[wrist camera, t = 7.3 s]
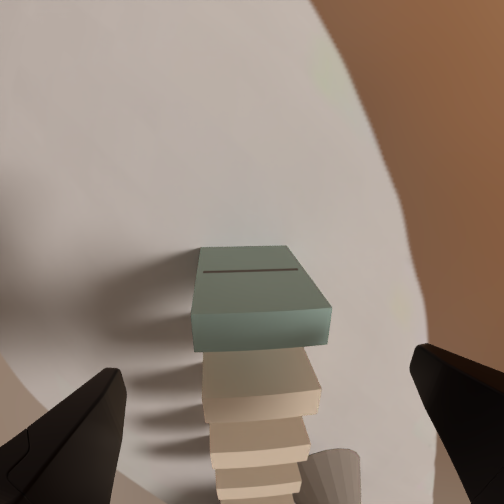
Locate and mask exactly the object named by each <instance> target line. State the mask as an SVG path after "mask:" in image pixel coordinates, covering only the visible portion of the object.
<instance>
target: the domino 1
mask: <svg viewBox="0 0 504 504" xmlns="http://www.w3.org/2000/svg"><path fill="white" fill-rule="evenodd" d="M331 313H332V307H331V305H330V304H329V302H328V301H327V300H326V298H325V297H324V296H323V294H322V293H321V291H320V290H319V289H318V287H317V286H316V285H315V283H314V282H313V281H312V279H311V278H310V277H309V275H308V274H307V272H306V271H305V270H304V268H303V267H302V266H301V264H300V263H299V262H298V260H297V259H296V258H295V256H294V255H293V254H292V252H291V251H290V250H289V248H288V247H287V246H244V247H201V249H200V255H199V261H198V268H197V274H196V281H195V288H194V294H193V301H192V309H191V323H192V334H193V345H194V352H227V351H250V350H267V349H282V348H294V347H306V346H316V345H326V344H327V342H328V335H329V328H330V321H331Z"/></svg>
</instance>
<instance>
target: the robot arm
mask: <svg viewBox="0 0 504 504" xmlns="http://www.w3.org/2000/svg"><path fill="white" fill-rule="evenodd" d="M410 373H411V376H412V378H413V380H414V383H415V385H416V388H417V390H418V392H419V395H420V397H421V400H422V402H423V405H424V407H425V409H426V411H427V413H428V415H429V417H430V419H431V421H432V423H433V425H434V427H435V428H436V430H437V432H438V434H439V436H440V438H441V440H442V442H443V444H444V446H445V448H446V450H447V452H448V454H449V456H450V458H451V461H452V463H453V465H454V467H455V469H456V471H457V473H458V475H459V478H460V480H461V482H462V484H463V486H464V489H465V491H466V493H467V495H468V498H469V500H470V502H471V504H504V373H503V372H500V371H498V370H495V369H493V368H490V367H487V366H484V365H482V364H480V363H477V362H475V361H472V360H469V359H467V358H464V357H462V356H459V355H457V354H454V353H451V352H449V351H446V350H444V349H441V348H439V347H436V346H434V345H431V344H428V343H425V344H421V345H418V346H416V348H415V350H414V353H413V357H412V360H411V363H410ZM126 399H127V392H126V387H125V384H124V381H123V377H122V374H121V371H120V370H119V369H118V368H105V369H103V370H102V371H101V372H99V373H98V374H97V375H95V376H94V377H93V378H92V379H90V380H89V381H88V382H86V383H85V384H84V385H82V386H81V387H80V388H78V389H77V390H76V391H74V392H73V393H72V394H71V395H69V396H68V397H67V398H65V399H64V400H63V401H61V402H60V403H59V404H57V405H56V406H55V407H54V408H52V409H51V410H50V411H48V412H47V413H46V414H44V415H43V416H42V417H40V418H39V419H38V420H36V421H35V422H34V423H33V424H31V425H30V426H29V427H28V428H27V429H25V430H23V431H22V432H21V433H19V434H18V435H17V436H15V437H14V438H13V439H11V440H10V441H8V442H7V443H6V444H4V445H2V446H1V447H0V504H110V498H111V493H112V487H113V482H114V477H115V472H116V467H117V462H118V457H119V453H120V448H121V443H122V436H123V426H124V416H125V407H126Z"/></svg>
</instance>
